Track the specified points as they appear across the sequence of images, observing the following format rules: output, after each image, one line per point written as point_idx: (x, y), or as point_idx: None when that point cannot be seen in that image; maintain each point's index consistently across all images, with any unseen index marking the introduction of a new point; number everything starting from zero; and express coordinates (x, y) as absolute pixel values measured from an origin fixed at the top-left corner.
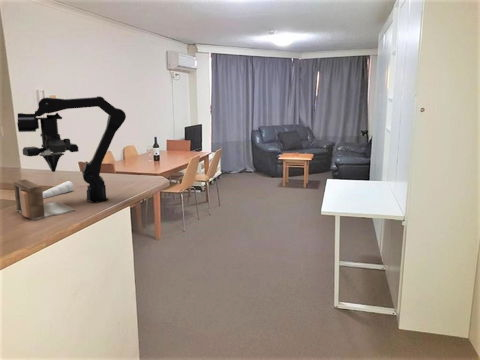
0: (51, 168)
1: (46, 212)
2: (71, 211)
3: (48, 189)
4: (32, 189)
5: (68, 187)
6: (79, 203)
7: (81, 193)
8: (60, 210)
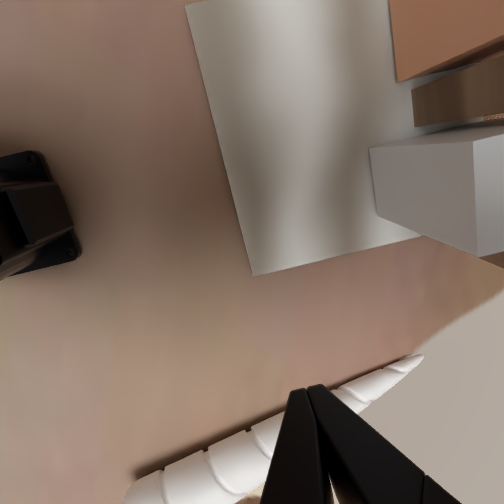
0: (356, 424)
1: (366, 47)
2: (212, 1)
3: None
4: None
5: (154, 487)
6: (134, 196)
7: (96, 414)
8: (278, 45)
